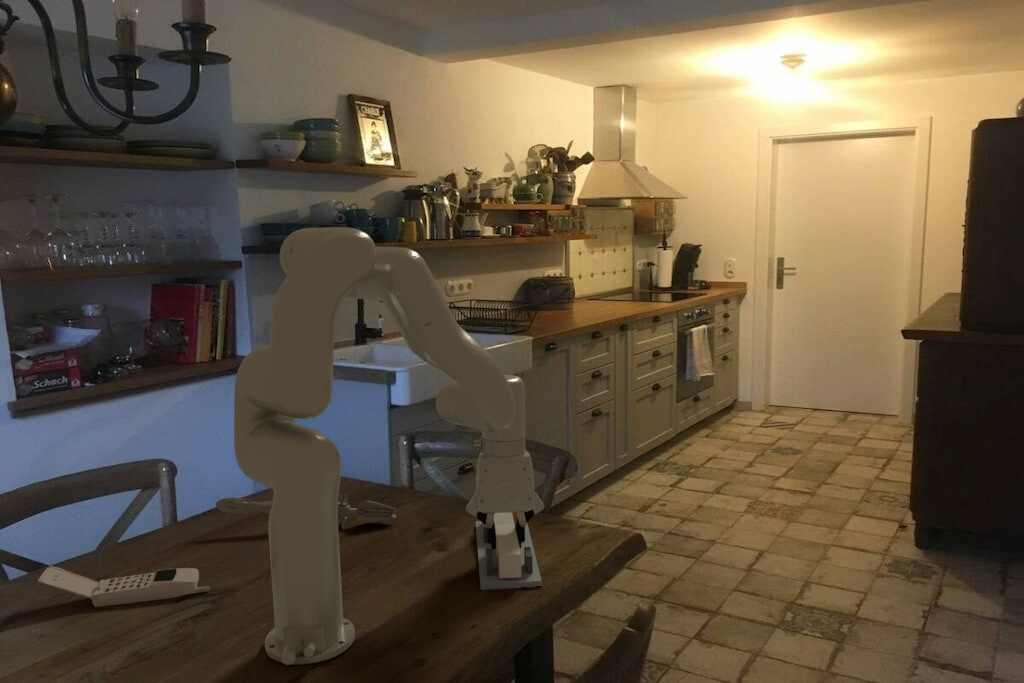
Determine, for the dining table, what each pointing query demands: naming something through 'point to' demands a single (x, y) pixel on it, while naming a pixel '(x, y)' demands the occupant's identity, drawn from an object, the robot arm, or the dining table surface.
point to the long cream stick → (507, 546)
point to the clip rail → (490, 566)
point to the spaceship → (363, 512)
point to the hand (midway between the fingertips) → (505, 545)
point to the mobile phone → (126, 585)
